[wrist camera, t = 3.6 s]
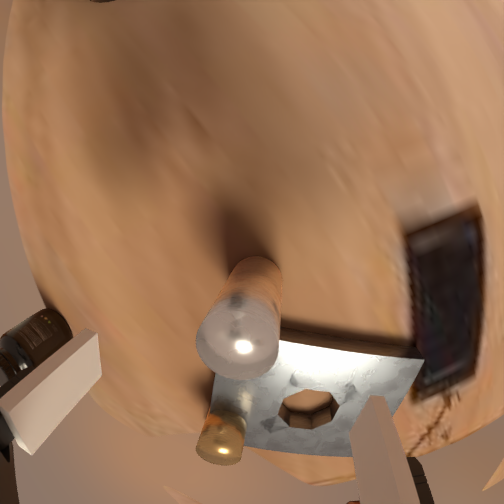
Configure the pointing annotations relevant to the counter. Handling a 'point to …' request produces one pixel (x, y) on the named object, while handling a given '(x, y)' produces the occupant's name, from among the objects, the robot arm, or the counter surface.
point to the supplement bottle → (32, 342)
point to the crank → (353, 502)
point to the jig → (295, 380)
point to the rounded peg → (244, 322)
